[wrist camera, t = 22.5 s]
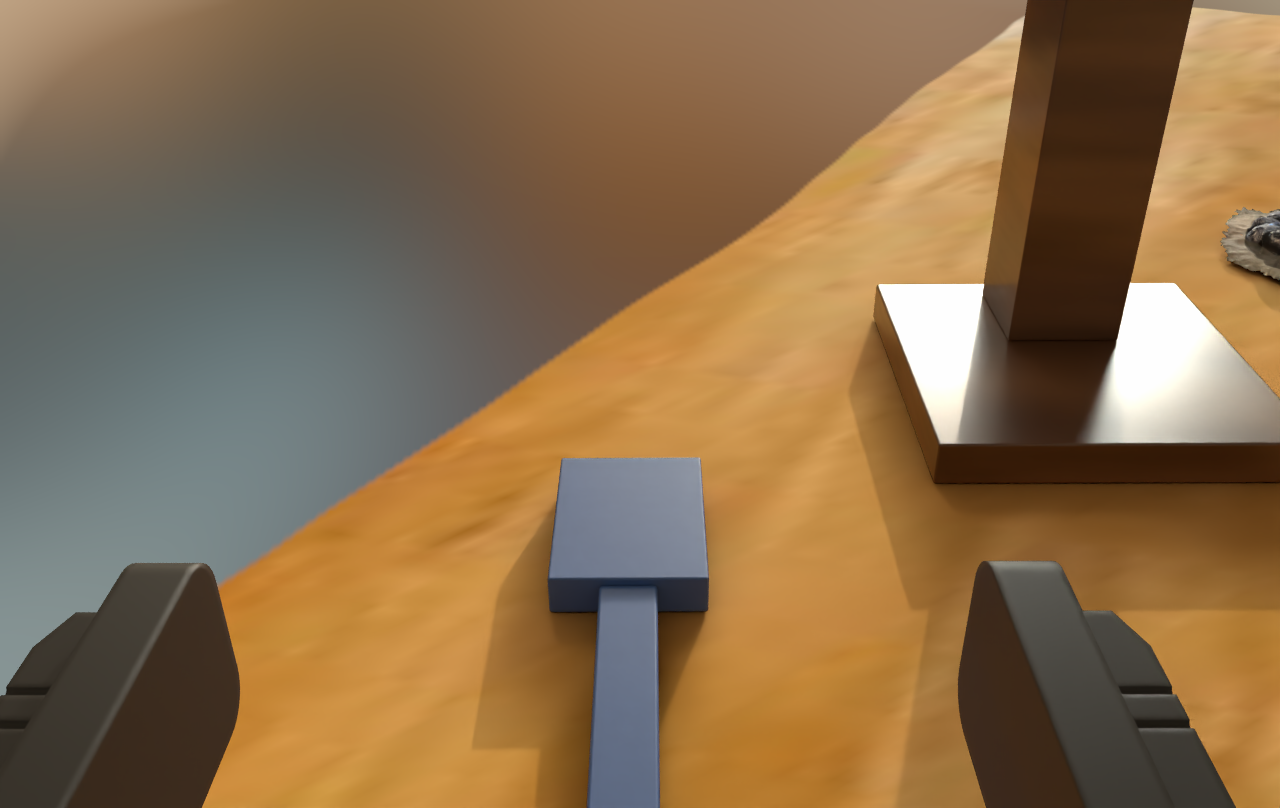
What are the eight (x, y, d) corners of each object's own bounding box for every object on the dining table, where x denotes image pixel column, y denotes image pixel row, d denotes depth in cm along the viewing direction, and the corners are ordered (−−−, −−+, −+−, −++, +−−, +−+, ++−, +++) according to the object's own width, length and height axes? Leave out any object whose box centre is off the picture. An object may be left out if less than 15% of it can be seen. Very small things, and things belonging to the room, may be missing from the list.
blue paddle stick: (752, 1279, 19) (755, 1242, 18) (476, 1279, 19) (469, 1241, 18) (700, 488, 38) (700, 457, 37) (563, 488, 38) (561, 457, 37)
